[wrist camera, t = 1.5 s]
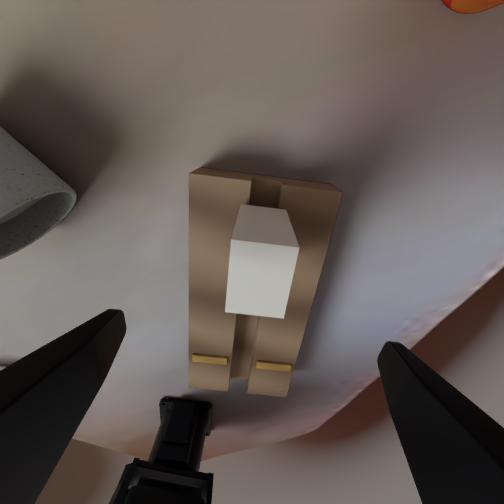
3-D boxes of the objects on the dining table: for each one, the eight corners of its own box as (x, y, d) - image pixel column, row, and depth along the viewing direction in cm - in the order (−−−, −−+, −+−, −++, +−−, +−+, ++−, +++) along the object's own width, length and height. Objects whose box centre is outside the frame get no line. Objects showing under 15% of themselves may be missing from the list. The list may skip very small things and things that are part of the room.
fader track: (283, 371, 27) (286, 399, 25) (195, 362, 27) (188, 389, 24) (331, 184, 18) (344, 193, 15) (199, 167, 18) (188, 173, 15)
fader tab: (275, 253, 19) (283, 318, 12) (237, 249, 19) (224, 312, 12) (284, 203, 17) (299, 247, 10) (242, 198, 17) (230, 239, 10)
